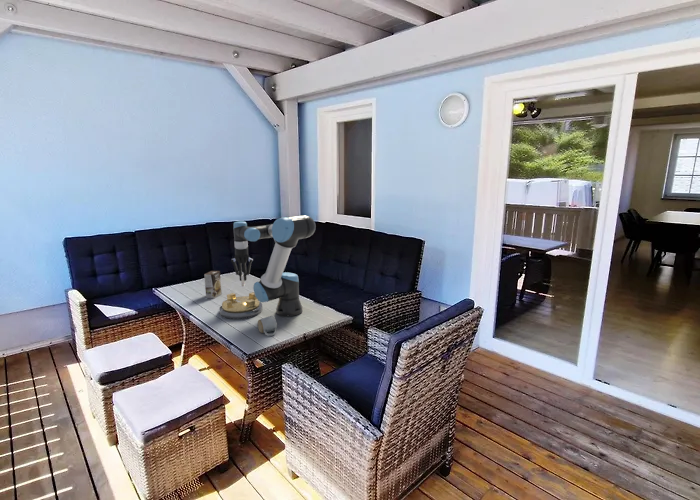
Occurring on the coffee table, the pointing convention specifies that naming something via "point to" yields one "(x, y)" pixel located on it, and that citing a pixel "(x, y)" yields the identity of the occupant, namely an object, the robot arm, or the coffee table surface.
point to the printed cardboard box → (213, 284)
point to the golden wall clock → (240, 303)
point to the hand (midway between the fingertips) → (243, 285)
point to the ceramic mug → (267, 325)
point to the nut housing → (241, 315)
